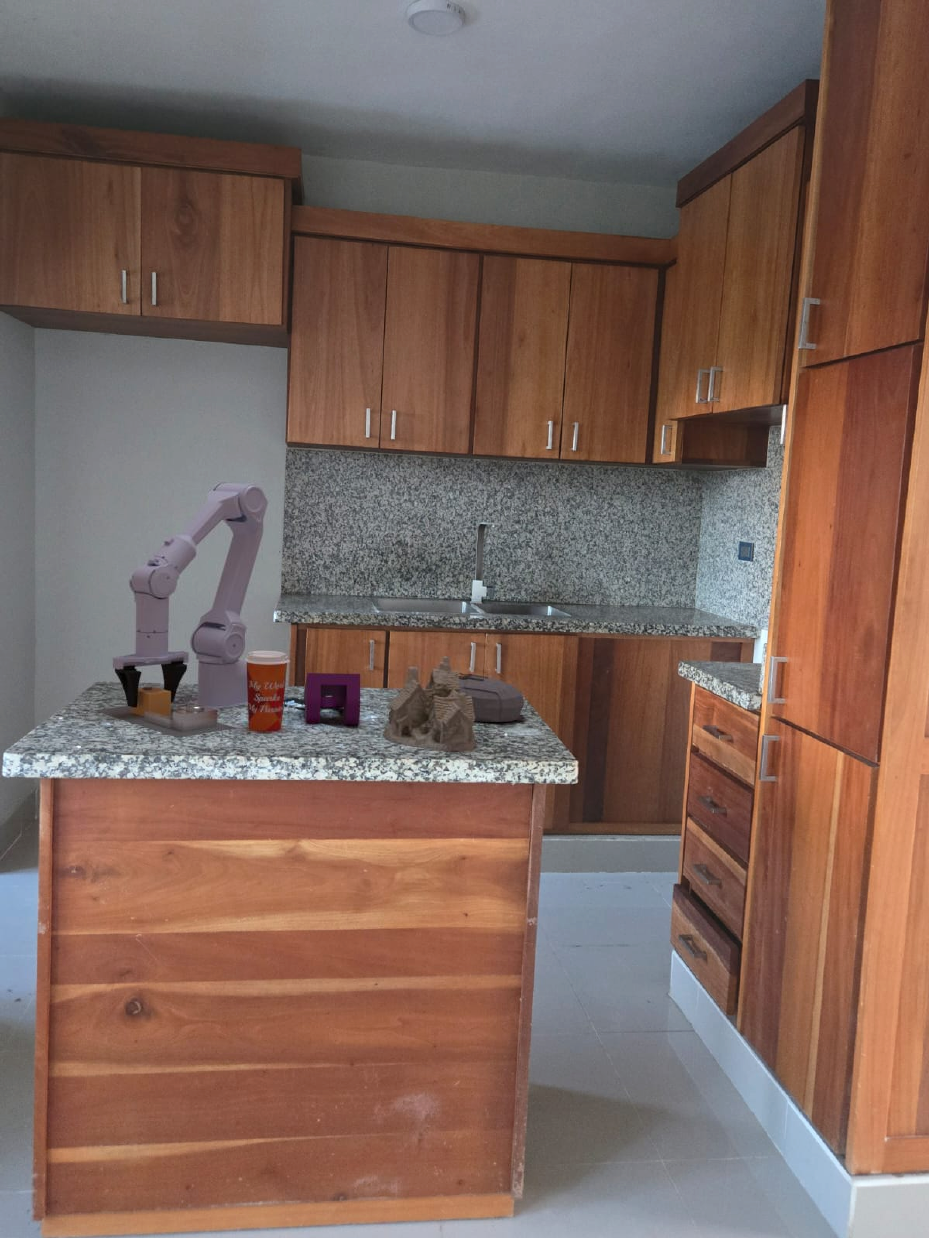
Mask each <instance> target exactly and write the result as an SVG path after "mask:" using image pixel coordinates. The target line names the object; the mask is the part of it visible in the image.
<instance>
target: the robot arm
mask: <svg viewBox="0 0 929 1238" xmlns="http://www.w3.org/2000/svg"><path fill="white" fill-rule="evenodd" d="M205 499H206V500H205V502H204V504H203V505H202V506H201V508H200V509H199V510H198V511H197V513H196V514H195V516H194V517H193V518H192V519H191V521H189V524H188V525H187V526H186V527H185V529H184V530H183V531H182V533H181V534H173V535H171V536H168V537H166V538H165V539H164V540H163V545H162V546H161V547H160V548H159V549H158V551H157V552H156V553H155V554H154V555H153V556H151V557H150V558H148V561H147V563H146V564H143V565H139V566H138V567H136V569H135V570H134V571H133V573H132V576H131V579H128V585H129V589H130V590H131V592H132V593H133V596H134V598H133V599H134V602H135V653H132V654H127V655H120V656H113V657H112V668H113V669H114V673H115V674H116V676H117V678H118V679H119V681H120V684H121V686H122V689H123V693H124V695H125V699H126V704H127V705H126V706H130V707H133V708H135V707H137V704H138V688H139V685H140V681H141V680H140V679H141V676H142V671H140V670H137V669H138V668H136V667H148V666H158V665H160V666H161V670H162V671H161V672H162V678H163V689H164V690H167V691H171V704H172V703H174V702H175V697H176V695H177V691H178V689H179V685H180V682H181V680H182V678H183V676H184V675H185V674H186V672H187V671H188V665H187V664H188V663H189V658H190V657H189V653H190V652H188V651H184V650H181V651H169V621H170V620H169V619H170V617H169V615H170V611H169V610H170V609H169V607H170V606H169V605H170V596H171V595H172V594H174V593H175V592H176V590H177V585H178V579H180V575H181V574H182V573H183V572H184V571H185V569H186V568H188V566H189V565H190V563H192V561H193V560H194V559H195V558H196V557H197V546H198V544H200V543H201V541H203V540H204V539H205V538H206V537H207V536H208V535H209V534H210V533H211V532H212V530H214V529H215V528H216V527H217V526H218V524H220V523H221V522H222V521H223V522H224V523H225V524H226V525H227V526H228V527H229V528H230V530H231V533H232V539H231V542H230V544H229V548H228V552H227V555H226V559H225V562H224V566H223V570H222V573H221V576H220V580H219V583H218V586H217V590H216V593H215V596H214V600H213V604H212V607H211V609H210V610H209V611H207V612H205V613H204V614H203V615H202V616H201V617H200V619H199V622H198V624H197V626H196V628H195V629H194V630H193V631H192V633H191V636H190V648H191V650H192V653H194V654H195V656H196V657H195V658H196V660H198V666H197V700H196V699H195V700H190V701H188V704H189V703H190V704H200V705H204V706H205V707H210V708H213V709H219V708H226V707H233V706H240V705H248V694H247V663H246V662H245V660H242V659H240V658H241V657H242V655H243V654H244V652H245V649H246V638H245V637H246V632H247V626H246V624H245V622H243V620H242V619H241V617H240V615H241V611H242V608H243V604H244V601H245V599H246V595H247V591H248V587H249V584H250V581H251V580H250V579H251V576H252V573H253V570H254V566H255V563H256V560H257V556H258V552H259V548H260V545H261V543H262V538H263V535H264V518H265V515H266V510H267V507H268V504H269V502H268V499H267V497H266V494H265V493H264V490H263V488H262V487H261V486H260V485H258V484H256V483H254V482H253V483H233V482H225V481H221V482H218V483H216V484H215V485H214V486H213V487H212V489H211V490H210V491H209V492H207V493H206V498H205ZM186 663H187V664H186Z"/></svg>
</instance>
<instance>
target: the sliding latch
mask: <svg viewBox="0 0 929 1238" xmlns="http://www.w3.org/2000/svg"><path fill="white" fill-rule="evenodd" d="M177 710H178V711H174V712H173V718H171V717H168V716H165V715H161V714H158V713H155V712H152V711H149V712H145V721H147V722H150V723H153V724H156V725H159V726H162V727H165V728H169V729H176V730H179V731H182V732H184V731H191V730H197V729H203V728H209V727H216V726H217V722H218V708H214V707H213V708H210V707H205V706H204V705H200V704H193V703H190V704H187V705H186V706H180V707H178V709H177Z"/></svg>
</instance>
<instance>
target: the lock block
mask: <svg viewBox="0 0 929 1238" xmlns="http://www.w3.org/2000/svg"><path fill="white" fill-rule="evenodd" d="M171 704H172V703H171V691H167V690H164V688H161V687H160V688H159V687H157V686H143V687H138V704H137V707H135V708H133V707H131V713H134V714H137V715H141V716H144V717H145V712H149V711H152V712H155V713H158V714H161V715H165V716H168V715H171V709H172V707H171Z"/></svg>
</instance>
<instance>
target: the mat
mask: <svg viewBox="0 0 929 1238" xmlns="http://www.w3.org/2000/svg"><path fill="white" fill-rule="evenodd" d="M94 711H95V712H98V713H101V714H105V715H107V716H110V717H112V718H113V717H114V718H116V719H120V720H123V721H125V722H129V723H131V724H134V725H138V726H139V727H140V726H141V727H143V728H147V729H149V730H153V731H156V732H159V733H162V734H164V735H168V736H172V737H174V738H184V737H191V736H192V737H193V736H196V735H202V734H209V733H215V732H221V731H222V732H223V731H228V730H233V729H234V730H235V729H236V727H235V726H232V725H229V724H225V723H222V722H219V721H217V726H216V727H209V728H203V729H197V730H191V731H184V732H182V731H179V730H176V729H169V728H165V727H162V726H159V725H156V724H153V723H150V722H147V721H145V717H144V716H141V715H137V714H134V713H131V707H130V706H128V705H124V706H115V707H108V708H100V709H94ZM174 711H178V709H174V708H171V715H168V717H171V718H173V712H174Z"/></svg>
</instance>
